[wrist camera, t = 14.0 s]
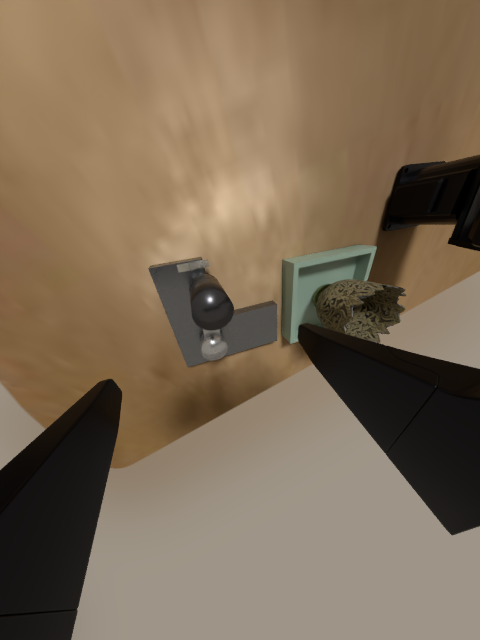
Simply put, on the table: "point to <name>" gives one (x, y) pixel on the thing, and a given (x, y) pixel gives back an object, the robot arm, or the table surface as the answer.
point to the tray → (318, 282)
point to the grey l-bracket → (239, 333)
